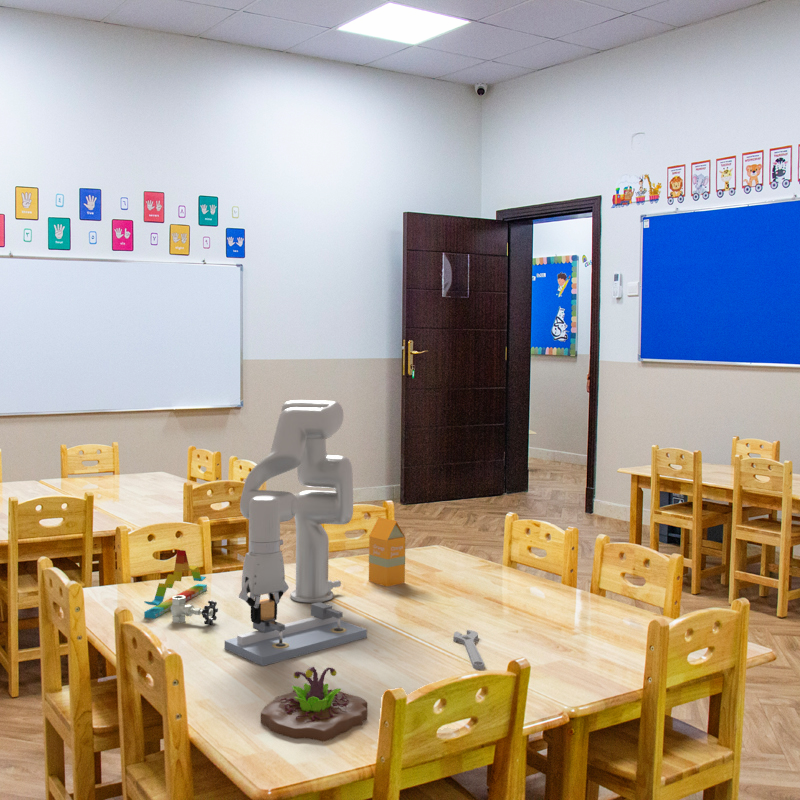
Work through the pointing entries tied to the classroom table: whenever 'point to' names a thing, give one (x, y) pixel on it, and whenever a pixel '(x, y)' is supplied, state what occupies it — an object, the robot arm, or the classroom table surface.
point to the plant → (314, 710)
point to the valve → (191, 610)
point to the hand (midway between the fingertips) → (263, 620)
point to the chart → (189, 593)
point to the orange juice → (386, 553)
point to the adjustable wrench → (470, 647)
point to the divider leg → (269, 619)
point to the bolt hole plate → (297, 637)
